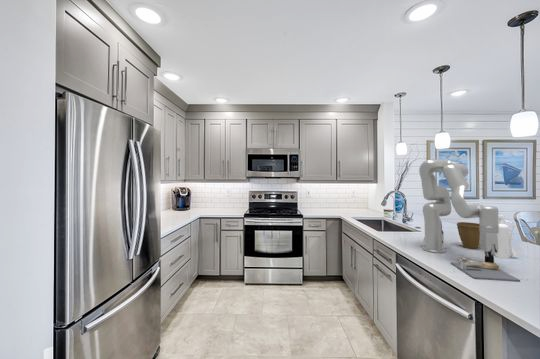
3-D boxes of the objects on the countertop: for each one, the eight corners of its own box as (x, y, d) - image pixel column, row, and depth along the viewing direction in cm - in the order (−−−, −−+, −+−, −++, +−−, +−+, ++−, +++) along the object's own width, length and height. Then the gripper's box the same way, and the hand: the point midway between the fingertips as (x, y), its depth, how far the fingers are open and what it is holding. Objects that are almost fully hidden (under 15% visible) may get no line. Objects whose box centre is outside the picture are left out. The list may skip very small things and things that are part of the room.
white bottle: (521, 260, 134) (518, 216, 135) (492, 257, 140) (489, 215, 141) (516, 257, 140) (513, 215, 140) (489, 254, 146) (486, 214, 147)
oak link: (461, 265, 125) (461, 259, 125) (459, 262, 129) (459, 256, 129) (498, 269, 119) (498, 263, 119) (495, 267, 122) (495, 260, 122)
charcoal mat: (450, 263, 131) (450, 262, 131) (489, 265, 127) (489, 264, 127) (473, 278, 112) (473, 277, 112) (520, 281, 108) (520, 280, 108)
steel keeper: (460, 269, 123) (460, 261, 123) (479, 270, 121) (479, 262, 121) (463, 271, 120) (463, 263, 120) (482, 272, 118) (482, 264, 118)
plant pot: (456, 248, 159) (456, 224, 159) (457, 243, 170) (457, 221, 170) (486, 252, 149) (486, 227, 149) (485, 246, 160) (485, 223, 160)
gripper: (474, 226, 133) (475, 258, 133) (485, 231, 119) (486, 267, 119) (491, 227, 130) (492, 260, 130) (505, 233, 116) (505, 269, 116)
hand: (489, 263), depth 125 cm, fingers closed
